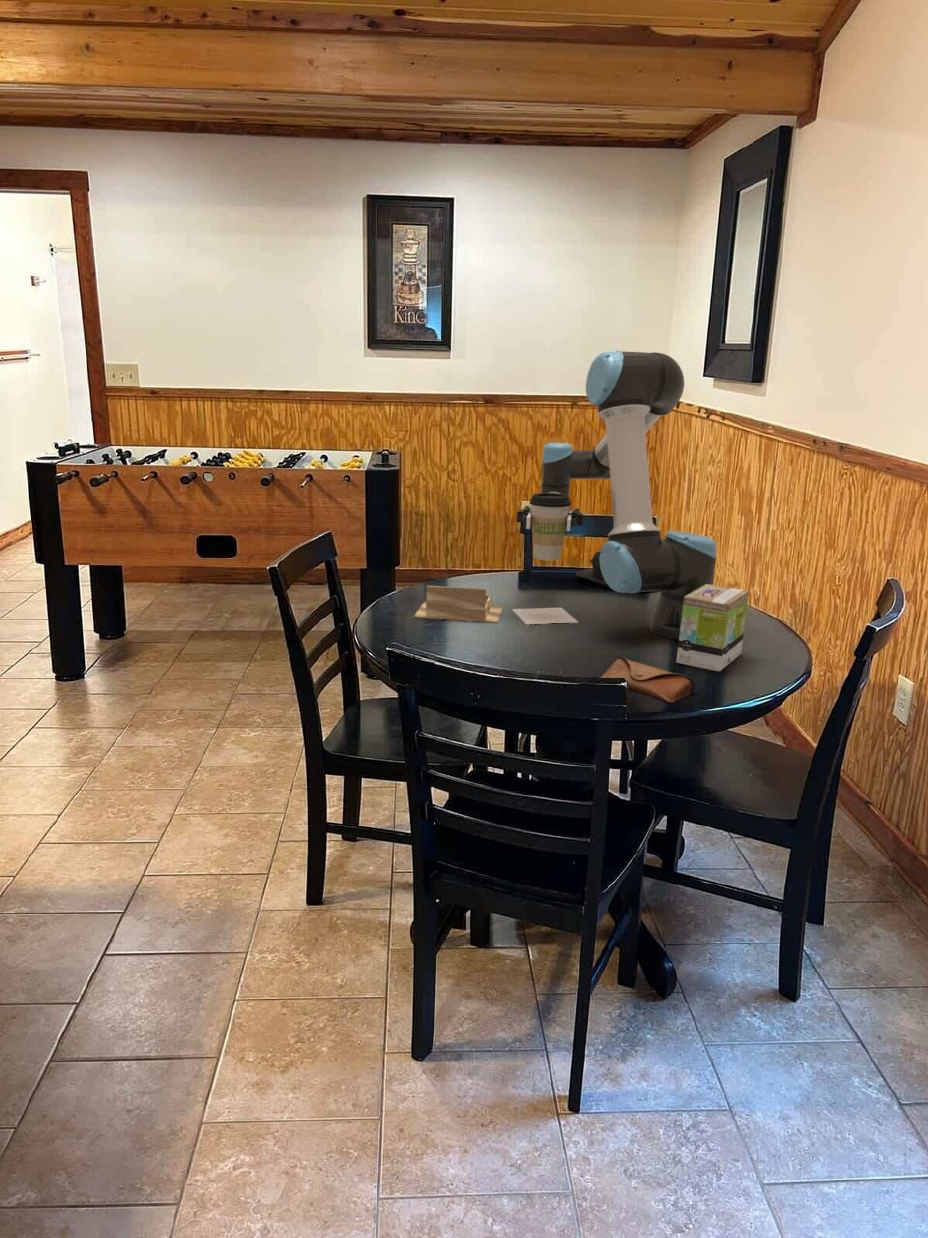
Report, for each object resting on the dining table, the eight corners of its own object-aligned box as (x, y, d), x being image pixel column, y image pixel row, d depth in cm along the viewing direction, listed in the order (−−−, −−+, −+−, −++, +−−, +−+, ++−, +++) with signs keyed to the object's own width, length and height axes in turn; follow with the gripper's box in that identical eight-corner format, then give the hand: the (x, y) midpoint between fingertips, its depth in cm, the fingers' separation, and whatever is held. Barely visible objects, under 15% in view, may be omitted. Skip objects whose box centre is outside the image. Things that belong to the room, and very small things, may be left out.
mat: (578, 623, 221) (578, 621, 221) (525, 625, 218) (526, 623, 218) (561, 608, 233) (561, 607, 233) (511, 610, 231) (511, 609, 231)
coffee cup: (545, 564, 215) (548, 500, 211) (518, 555, 223) (521, 494, 219) (576, 559, 221) (580, 497, 217) (549, 551, 229) (552, 491, 224)
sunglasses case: (592, 679, 183) (604, 648, 184) (609, 689, 188) (620, 658, 189) (672, 704, 171) (684, 670, 172) (687, 713, 176) (699, 681, 177)
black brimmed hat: (672, 584, 262) (675, 555, 260) (649, 598, 247) (651, 567, 244) (591, 572, 274) (593, 544, 272) (564, 584, 259) (566, 554, 257)
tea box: (722, 673, 189) (730, 603, 185) (674, 663, 194) (681, 595, 190) (742, 654, 201) (750, 588, 197) (697, 646, 206) (704, 581, 202)
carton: (426, 599, 238) (426, 569, 236) (504, 604, 236) (505, 574, 234) (413, 617, 222) (414, 585, 220) (497, 623, 219) (498, 590, 217)
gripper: (594, 525, 236) (593, 542, 215) (510, 521, 239) (501, 537, 217) (596, 496, 234) (595, 510, 213) (511, 492, 237) (503, 505, 215)
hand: (548, 524), depth 215 cm, fingers closed on coffee cup, 9 cm apart
